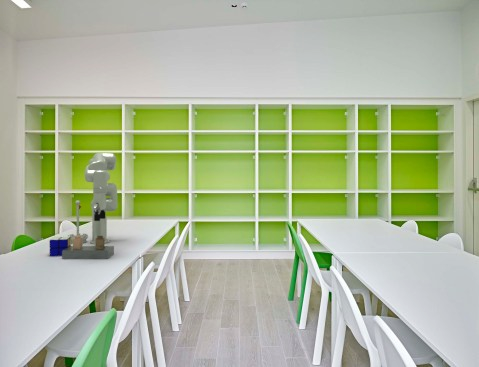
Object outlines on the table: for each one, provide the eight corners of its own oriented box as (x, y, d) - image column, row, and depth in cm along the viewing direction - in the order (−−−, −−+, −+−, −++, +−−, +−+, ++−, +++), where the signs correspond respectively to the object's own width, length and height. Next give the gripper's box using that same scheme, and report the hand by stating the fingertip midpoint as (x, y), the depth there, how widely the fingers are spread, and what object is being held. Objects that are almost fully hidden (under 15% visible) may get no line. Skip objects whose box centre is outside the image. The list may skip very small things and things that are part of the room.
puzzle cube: (49, 256, 209) (49, 239, 209) (53, 252, 219) (53, 236, 218) (67, 255, 212) (67, 239, 211) (71, 252, 221) (71, 236, 221)
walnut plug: (97, 253, 213) (97, 235, 212) (104, 253, 213) (104, 235, 213) (95, 255, 209) (95, 236, 208) (102, 255, 209) (102, 236, 209)
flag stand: (82, 244, 243) (82, 201, 242) (64, 244, 243) (63, 201, 242) (91, 240, 256) (91, 199, 255) (73, 240, 256) (73, 199, 255)
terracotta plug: (75, 253, 212) (75, 235, 211) (82, 253, 212) (82, 235, 212) (72, 255, 208) (72, 236, 207) (79, 255, 208) (79, 236, 208)
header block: (70, 254, 216) (70, 245, 215) (114, 254, 217) (114, 246, 217) (62, 258, 204) (62, 250, 203) (108, 258, 205) (108, 250, 205)
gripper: (98, 190, 218) (98, 217, 218) (88, 191, 201) (88, 221, 201) (110, 190, 218) (110, 217, 219) (101, 192, 201) (101, 221, 202)
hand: (99, 219), depth 210 cm, fingers open, 9 cm apart
